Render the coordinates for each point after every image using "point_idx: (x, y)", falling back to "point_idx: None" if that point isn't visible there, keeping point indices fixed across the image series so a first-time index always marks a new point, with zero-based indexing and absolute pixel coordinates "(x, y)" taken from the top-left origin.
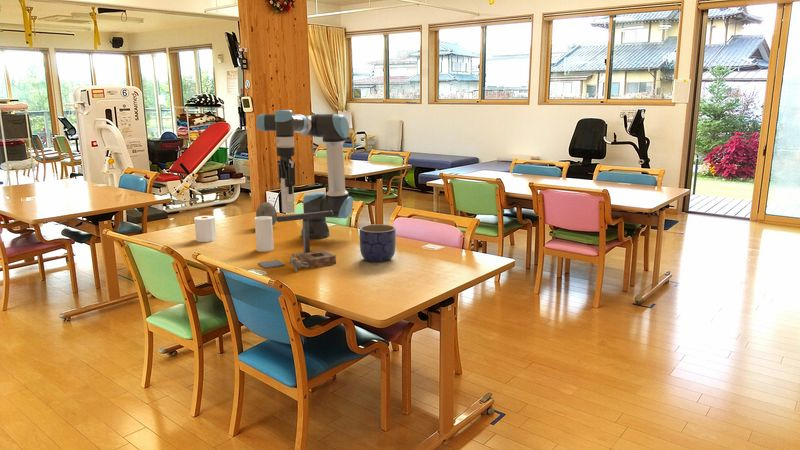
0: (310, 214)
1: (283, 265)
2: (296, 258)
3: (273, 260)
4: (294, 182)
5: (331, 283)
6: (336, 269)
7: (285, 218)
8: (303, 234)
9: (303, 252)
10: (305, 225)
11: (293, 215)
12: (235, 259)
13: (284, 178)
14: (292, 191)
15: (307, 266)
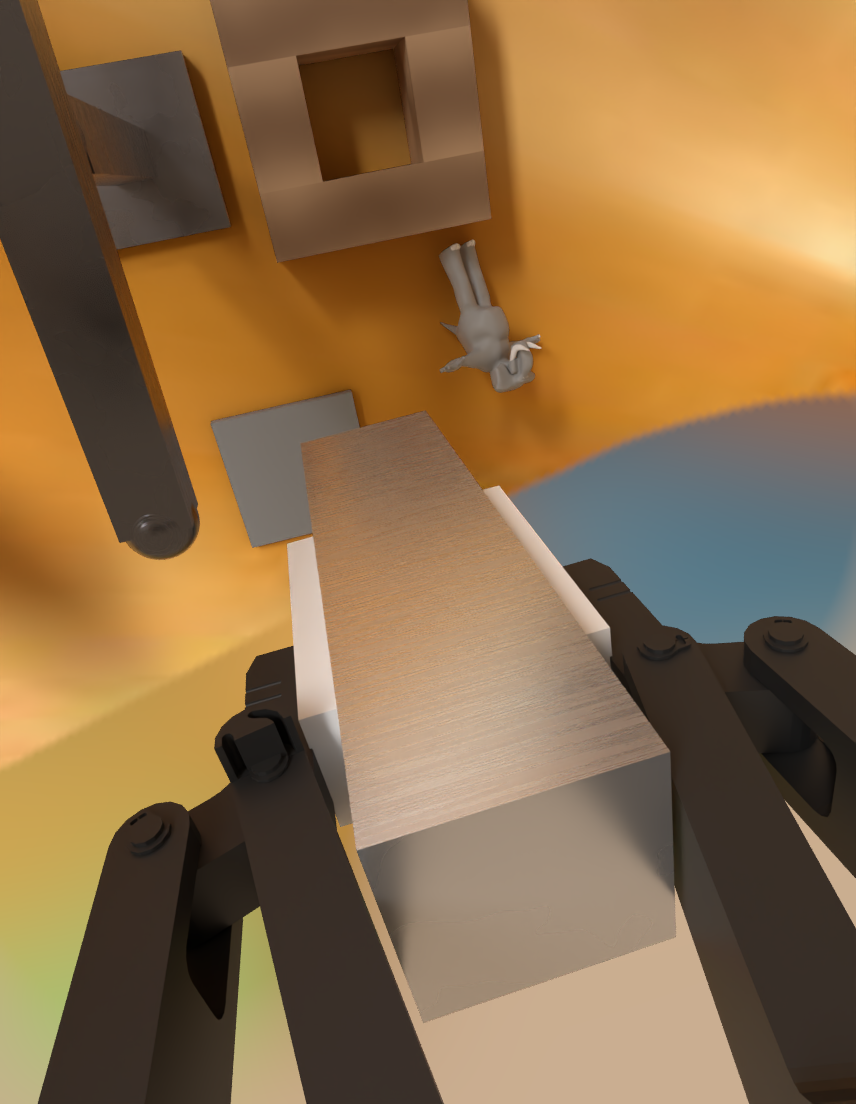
0: (33, 40)
1: (352, 398)
2: (525, 349)
3: (226, 450)
4: (852, 668)
5: (838, 181)
6: (599, 26)
7: (174, 456)
8: None
9: None
10: (100, 158)
11: (121, 351)
12: (97, 660)
13: (580, 942)
14: (620, 583)
15: (473, 246)
